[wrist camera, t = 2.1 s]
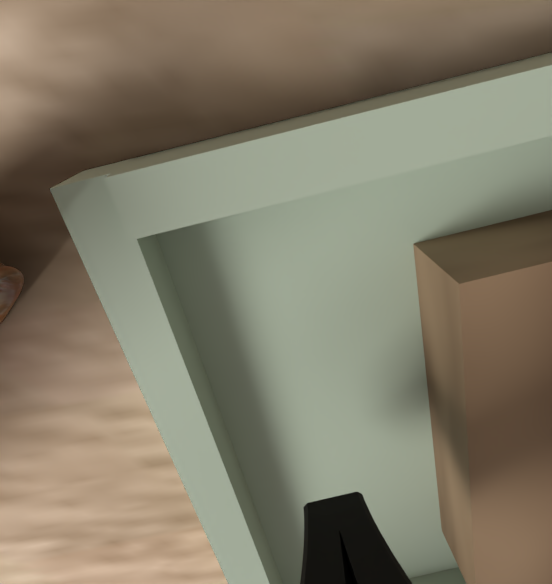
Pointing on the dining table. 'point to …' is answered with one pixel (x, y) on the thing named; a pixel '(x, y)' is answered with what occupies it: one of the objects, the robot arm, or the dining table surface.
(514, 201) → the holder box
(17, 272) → the tin
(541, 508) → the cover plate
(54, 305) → the dining table surface
